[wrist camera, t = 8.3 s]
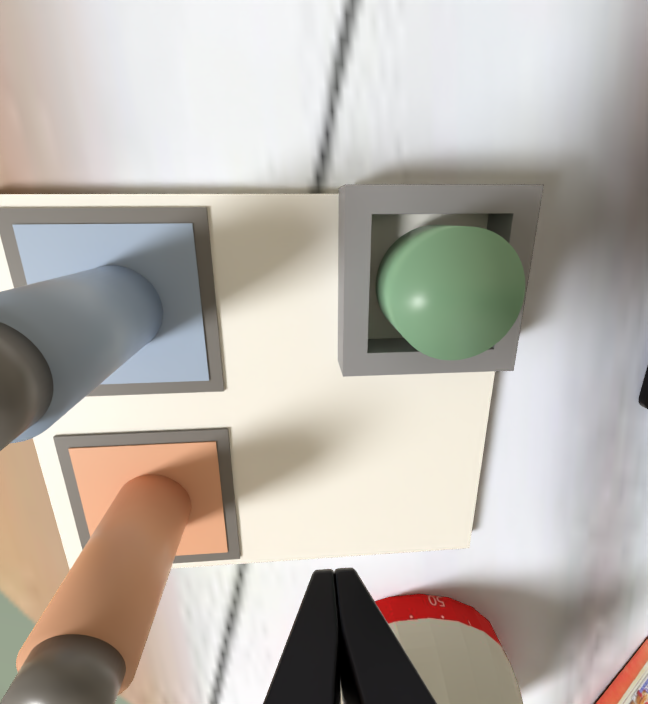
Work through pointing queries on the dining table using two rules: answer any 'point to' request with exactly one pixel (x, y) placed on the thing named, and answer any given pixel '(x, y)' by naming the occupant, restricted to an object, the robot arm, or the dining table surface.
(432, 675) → the kitchen timer
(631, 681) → the cracker box
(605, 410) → the dining table surface
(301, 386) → the cream board with squares
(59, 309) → the blue bottle
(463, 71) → the dining table surface
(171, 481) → the terracotta marker
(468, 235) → the button
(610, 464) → the dining table surface
